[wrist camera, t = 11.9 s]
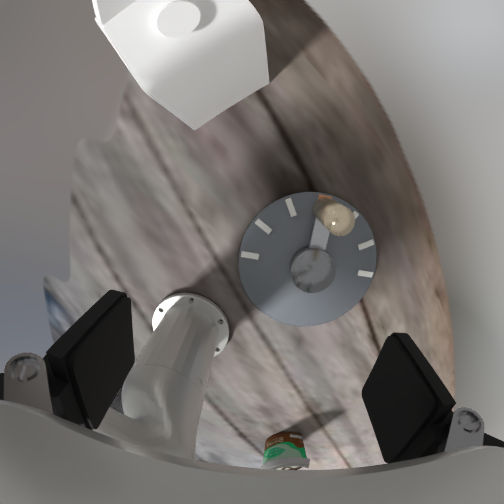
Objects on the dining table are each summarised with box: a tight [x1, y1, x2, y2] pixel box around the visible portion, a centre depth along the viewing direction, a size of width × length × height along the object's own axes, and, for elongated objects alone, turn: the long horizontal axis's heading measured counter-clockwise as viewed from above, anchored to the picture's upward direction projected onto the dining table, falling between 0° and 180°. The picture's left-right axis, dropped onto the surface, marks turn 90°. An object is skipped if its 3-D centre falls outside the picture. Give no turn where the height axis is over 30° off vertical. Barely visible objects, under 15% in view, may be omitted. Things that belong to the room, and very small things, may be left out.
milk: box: [92, 0, 269, 130], centre depth 20 cm, size 12×12×26 cm
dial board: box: [238, 192, 377, 326], centre depth 39 cm, size 20×20×1 cm
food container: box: [260, 432, 310, 470], centre depth 48 cm, size 12×6×10 cm, turn 141°
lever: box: [290, 197, 355, 293], centre depth 34 cm, size 13×6×8 cm, turn 170°
